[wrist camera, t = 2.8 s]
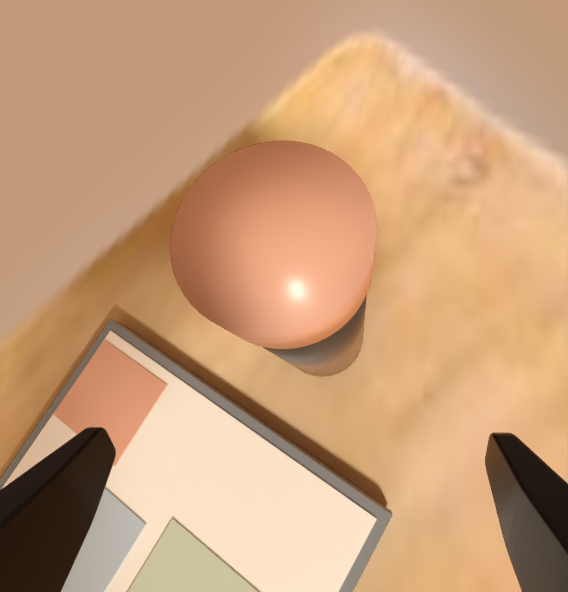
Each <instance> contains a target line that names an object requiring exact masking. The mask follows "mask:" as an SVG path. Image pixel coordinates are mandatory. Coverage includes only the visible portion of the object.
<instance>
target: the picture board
mask: <svg viewBox="0 0 568 592" xmlns="http://www.w3.org/2000/svg"><path fill="white" fill-rule="evenodd" d="M88 427H103V428H105V429H106V431H107V433H108V435H109V437H110V439H111V441H112V443H113V445H114V447H115V449H116V457H115V461H114V463H113V466H112V469H111V472H110V475H109V478H108V480H107V483H106V486H105V489H104V492H103V495H102V498H101V500H100V503H99V506H98V509H97V512H96V514H95V517H94V520H93V522H92V524H91V527H90V529H89V531H88V533H87V536H86V538H85V540H84V542H83V544H82V547H81V549H80V551H79V553H78V555H77V558H76V560H75V562H74V564H73V566H72V569H71V571H70V573H69V575H68V577H67V580H66V582H65V584H64V586H63V588H62V591H61V592H353V590H354V588H355V586H356V584H357V582H358V580H359V578H360V576H361V574H362V573H363V571H364V569H365V567H366V565H367V563H368V561H369V559H370V557H371V555H372V553H373V551H374V550H375V548H376V546H377V544H378V542H379V540H380V538H381V536H382V534H383V532H384V530H385V529H386V527H387V525H388V523H389V521H390V519H391V517H392V512H391V510H389V509H388V508H386V507H385V506H383V505H382V504H381V503H379V502H378V501H376V500H375V499H373V498H372V497H370V496H369V495H368V494H366V493H365V492H363V491H362V490H360V489H359V488H357V487H356V486H355V485H353V484H352V483H350V482H349V481H347V480H346V479H344V478H343V477H342V476H340V475H339V474H337V473H336V472H334V471H333V470H331V469H330V468H329V467H327V466H326V465H324V464H323V463H321V462H320V461H318V460H317V459H316V458H314V457H313V456H311V455H310V454H308V453H307V452H305V451H304V450H303V449H301V448H300V447H298V446H297V445H295V444H294V443H292V442H291V441H290V440H288V439H287V438H285V437H284V436H282V435H281V434H279V433H278V432H277V431H275V430H274V429H272V428H271V427H269V426H268V425H266V424H265V423H264V422H262V421H261V420H259V419H258V418H256V417H255V416H253V415H252V414H251V413H249V412H248V411H246V410H245V409H243V408H242V407H240V406H239V405H238V404H236V403H235V402H233V401H232V400H230V399H229V398H227V397H226V396H225V395H223V394H222V393H220V392H219V391H217V390H216V389H214V388H213V387H212V386H210V385H209V384H207V383H206V382H204V381H203V380H201V379H200V378H199V377H197V376H196V375H194V374H193V373H191V372H190V371H188V370H187V369H186V368H184V367H183V366H181V365H180V364H178V363H177V362H175V361H174V360H173V359H171V358H170V357H168V356H167V355H165V354H164V353H162V352H161V351H160V350H158V349H157V348H155V347H154V346H152V345H151V344H149V343H148V342H147V341H145V340H144V339H142V338H141V337H139V336H138V335H136V334H135V333H134V332H132V331H131V330H129V329H128V328H126V327H125V326H123V325H122V324H121V323H119V322H117V321H114V320H111V319H110V321H109V322H108V324H107V325H106V326H105V328H104V329H103V331H102V332H101V334H100V335H99V337H98V338H97V339H96V341H95V342H94V344H93V345H92V347H91V348H90V350H89V351H88V352H87V354H86V355H85V357H84V358H83V360H82V361H81V363H80V364H79V366H78V367H77V368H76V370H75V371H74V373H73V374H72V376H71V377H70V379H69V380H68V381H67V383H66V384H65V386H64V387H63V389H62V390H61V392H60V393H59V394H58V396H57V397H56V399H55V400H54V402H53V403H52V405H51V406H50V408H49V409H48V410H47V412H46V413H45V415H44V416H43V418H42V419H41V421H40V422H39V423H38V425H37V426H36V428H35V429H34V431H33V432H32V434H31V435H30V437H29V438H28V439H27V441H26V442H25V444H24V445H23V447H22V448H21V450H20V451H19V452H18V454H17V455H16V457H15V458H14V460H13V461H12V463H11V464H10V465H9V467H8V468H7V470H6V471H5V473H4V474H3V476H2V477H1V479H0V490H1V489H2V488H4V487H5V486H7V485H8V484H9V483H11V482H12V481H13V480H15V479H16V478H18V477H19V476H20V475H22V474H23V473H25V472H26V471H27V470H29V469H30V468H31V467H33V466H34V465H36V464H37V463H38V462H40V461H41V460H42V459H44V458H45V457H47V456H48V455H49V454H51V453H52V452H54V451H55V450H56V449H58V448H59V447H60V446H62V445H63V444H65V443H66V442H67V441H69V440H70V439H72V438H73V437H74V436H76V435H77V434H78V433H80V432H81V431H83V430H84V429H86V428H88Z"/></svg>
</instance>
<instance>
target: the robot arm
mask: <svg viewBox="0 0 568 592" xmlns="http://www.w3.org/2000/svg"><path fill="white" fill-rule="evenodd" d="M115 457H116V449H115V447H114V445H113V443H112V441H111V439H110V437H109V435H108V433H107V431H106V429H105V428H103V427H88V428H86V429H84V430H83V431H81V432H80V433H78V434H77V435H76V436H74V437H73V438H72V439H70V440H69V441H67V442H66V443H65V444H63V445H62V446H60V447H59V448H58V449H56V450H55V451H54V452H52V453H51V454H49V455H48V456H47V457H45V458H44V459H42V460H41V461H40V462H38V463H37V464H36V465H34V466H33V467H31V468H30V469H29V470H27V471H26V472H25V473H23V474H22V475H20V476H19V477H18V478H16V479H15V480H13V481H12V482H11V483H9V484H8V485H7V486H5V487H4V488H2V489H1V490H0V592H61V591H62V588H63V586H64V584H65V582H66V580H67V577H68V575H69V573H70V571H71V569H72V566H73V564H74V562H75V560H76V558H77V555H78V553H79V551H80V549H81V547H82V544H83V542H84V540H85V538H86V536H87V533H88V531H89V529H90V527H91V524H92V522H93V520H94V517H95V514H96V512H97V509H98V506H99V503H100V500H101V498H102V495H103V492H104V489H105V486H106V483H107V480H108V478H109V475H110V472H111V469H112V466H113V463H114V461H115ZM485 465H486V471H487V475H488V479H489V483H490V487H491V491H492V494H493V498H494V502H495V506H496V510H497V514H498V518H499V522H500V526H501V530H502V534H503V538H504V541H505V545H506V548H507V551H508V554H509V557H510V560H511V563H512V565H513V568H514V571H515V574H516V576H517V579H518V582H519V584H520V587H521V590H522V592H568V483H567V482H565V481H564V480H563V479H562V478H561V477H560V476H559V475H558V474H557V473H556V472H555V471H553V470H552V469H551V468H550V467H549V466H548V465H547V464H546V463H545V462H544V461H543V460H541V459H540V458H539V457H538V456H537V455H536V454H535V453H534V452H533V451H532V450H531V449H530V448H528V447H527V446H526V445H525V444H524V443H523V442H522V441H521V440H520V439H519V438H518V437H516V436H515V435H514V434H512V433H492V434H491V435H490V436H489V441H488V446H487V451H486V457H485Z"/></svg>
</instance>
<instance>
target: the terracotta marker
mask: <svg viewBox="0 0 568 592" xmlns="http://www.w3.org/2000/svg"><path fill="white" fill-rule="evenodd" d="M376 232H377V224H376V214H375V210H374V206H373V202H372V199H371V197H370V194H369V192H368V190H367V188H366V186H365V185H364V183H363V181H362V180H361V178H360V177H359V176H358V175H357V173H356V172H355V171H354V170H353V169H352V168H351V167H350V166H349V165H348V164H347V163H346V162H344V161H343V160H342V159H340V158H339V157H337V156H336V155H334V154H333V153H331V152H329V151H327V150H324V149H322V148H320V147H317V146H314V145H311V144H306V143H301V142H294V141H271V142H265V143H259V144H255V145H252V146H248V147H245V148H243V149H240V150H238V151H235V152H233V153H231V154H229V155H228V156H226V157H224V158H222V159H221V160H219V161H218V162H216V163H215V164H214V165H212V166H211V167H210V168H209V169H208V170H206V171H205V172H204V173H203V174H202V175H201V176H200V177H199V178H198V179H197V180H196V181H195V183H194V184H193V185H192V187H191V188H190V189H189V190H188V192H187V194H186V195H185V197H184V199H183V200H182V202H181V204H180V206H179V208H178V211H177V213H176V216H175V219H174V222H173V226H172V232H171V239H170V255H171V263H172V268H173V272H174V275H175V278H176V280H177V283H178V285H179V287H180V289H181V290H182V292H183V294H184V295H185V297H186V298H187V299H188V301H189V302H190V303H191V305H192V306H193V307H194V308H195V309H196V310H197V311H198V312H199V313H201V314H202V315H203V316H205V317H206V318H207V319H209V320H210V321H212V322H214V323H215V324H217V325H219V326H221V327H222V328H224V329H226V330H227V331H229V332H231V333H233V334H234V335H236V336H238V337H240V338H242V339H244V340H245V341H247V342H250V343H252V344H255V345H258V346H262V347H263V348H265V349H267V350H268V351H270V352H272V353H273V354H275V355H276V356H278V357H280V358H281V359H283V360H285V361H286V362H288V363H289V364H291V365H293V366H294V367H296V368H298V369H299V370H301V371H303V372H305V373H307V374H310V375H314V376H330V375H334V374H337V373H339V372H341V371H343V370H345V369H346V368H348V367H349V366H350V365H351V364H352V363H353V362H354V361H355V359H356V358H357V356H358V354H359V352H360V350H361V347H362V342H363V331H364V319H365V307H366V295H367V292H368V289H369V286H370V282H371V277H372V272H373V263H374V254H375V245H376Z"/></svg>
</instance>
